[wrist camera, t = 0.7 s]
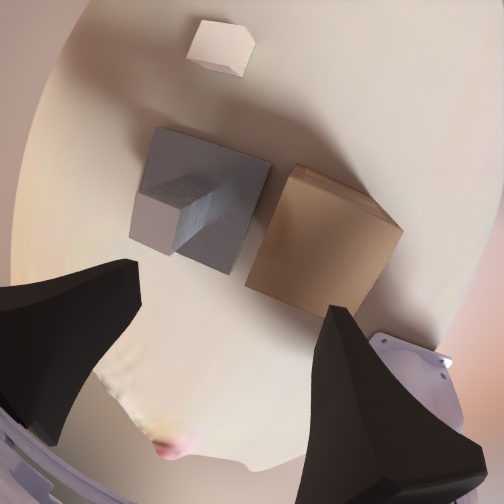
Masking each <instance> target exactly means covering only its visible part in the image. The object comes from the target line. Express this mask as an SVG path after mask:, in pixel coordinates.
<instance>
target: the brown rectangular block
mask: <svg viewBox="0 0 504 504" xmlns="http://www.w3.org/2000/svg"><path fill="white" fill-rule="evenodd" d="M403 232H404V231H403V230H402V229H401V228H400V227H399V226H398V224H397V223H396V222H395V221H394V220H393V219H392V218H391V217H390V216H389V215H388V214H387V213H386V211H385V210H384V209H383V208H382V207H381V206H380V205H379V204H378V203H377V202H376V201H375V200H374V199H373V198H371V197H369V196H367V195H365V194H363V193H361V192H359V191H357V190H355V189H353V188H351V187H349V186H347V185H344V184H342V183H340V182H338V181H336V180H334V179H331V178H329V177H327V176H325V175H322V174H320V173H318V172H315V171H313V170H311V169H308V168H306V167H304V166H301V165H299V164H296V166H295V168H294V169H293V171H292V172H291V174H290V176H289V177H288V180H287V182H286V185H285V187H284V189H283V192H282V194H281V197H280V199H279V202H278V204H277V207H276V209H275V212H274V214H273V217H272V219H271V222H270V224H269V227H268V229H267V232H266V234H265V237H264V239H263V242H262V244H261V247H260V249H259V251H258V254H257V256H256V259H255V261H254V264H253V266H252V269H251V271H250V274H249V276H248V279H247V281H246V283H245V286H246V287H249V288H251V289H253V290H256V291H258V292H261V293H263V294H265V295H268V296H270V297H273V298H275V299H278V300H280V301H282V302H285V303H287V304H290V305H292V306H295V307H297V308H300V309H302V310H305V311H307V312H310V313H312V314H315V315H317V316H320V317H322V318H325V317H326V314H327V310H328V307H329V304H330V305H335V306H340V307H346V308H347V309H348V311H349V312H350V314H351V315H352V317H353V316H354V315H355V313H356V312H357V310H358V309H359V307H360V305H361V304H362V302H363V301H364V299H365V298H366V296H367V295H368V293H369V291H370V290H371V288H372V287H373V285H374V283H375V282H376V280H377V278H378V277H379V275H380V273H381V272H382V270H383V268H384V267H385V265H386V263H387V261H388V260H389V258H390V256H391V254H392V252H393V251H394V249H395V247H396V245H397V243H398V242H399V240H400V238H401V236H402V234H403Z"/></svg>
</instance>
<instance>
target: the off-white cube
mask: <svg viewBox="0 0 504 504" xmlns="http://www.w3.org/2000/svg"><path fill="white" fill-rule="evenodd" d="M255 44H256V42H255V41H254V39H253V38H252V36H251V35H250V33H249V32H248V30H247V29H246V27H245V26H239V25H234V24H228V23H222V22H215V21H207V20H202V21H201V23H200V25H199V28H198V30H197V32H196V35H195V37H194V39H193V42H192V44H191V46H190V49H189V51H188V54H187V56H186V58H187V59H189V60H191V61H192V62H194V63H196V64H198V65H200V66H201V67H203V68H205V69H209V70H214V71H218V72H222V73H227V74H231V75H235V76H239V77H242V76H243V74H244V71H245V69H246V66H247V64H248V61H249V59H250V56H251V54H252V51H253V49H254V47H255Z"/></svg>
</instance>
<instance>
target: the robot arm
mask: <svg viewBox="0 0 504 504" xmlns="http://www.w3.org/2000/svg"><path fill="white" fill-rule="evenodd" d="M141 306H142V302H141V293H140V281H139V269H138V262H137V261H133V260H130V259H120V260H115V261H111V262H108V263H104V264H101V265H98V266H95V267H91V268H88V269H85V270H82V271H79V272H75V273H72V274H68V275H65V276H61V277H58V278H54V279H50V280H46V281H42V282H37V283H32V284H25V285H17V286H9V287H0V504H63V503H62V502H60V501H59V500H57V499H56V498H54V497H53V496H52V495H50V494H49V493H50V491H51V490H52V488H53V487H54V486H53V484H52V483H51V482H50V481H48V480H47V479H46V478H45V477H43V476H42V475H41V474H40V473H39V472H37V471H36V470H35V469H34V468H33V467H31V466H30V465H29V464H28V463H27V462H26V461H24V460H23V459H22V458H21V457H20V456H19V455H18V454H17V453H16V451H15V444H16V445H17V446H18V447H19V448H21V450H22V451H23V452H25V453H26V454H27V455H28V456H29V457H30V458H31V459H32V460H34V461H35V462H36V463H37V464H38V465H40V466H41V467H42V468H43V469H44V470H46V471H47V472H48V473H50V474H51V475H52V476H53V477H55V478H56V479H58V480H59V481H60V482H62V483H63V484H64V485H66V486H67V487H69V488H70V489H72V490H73V491H74V492H76V493H78V494H79V495H81V496H82V497H84V498H85V499H87V500H88V501H90V502H92V503H93V504H137V503H135V502H133V501H131V500H128V499H126V498H124V497H122V496H120V495H118V494H117V493H115V492H113V491H111V490H109V489H107V488H105V487H104V486H102V485H100V484H98V483H97V482H95V481H93V480H92V479H90V478H88V477H87V476H85V475H84V474H82V473H80V472H79V471H77V470H76V469H74V468H73V467H71V466H70V465H68V464H67V463H66V462H64V461H63V460H61V459H60V458H59V457H57V456H56V455H55V454H53V453H52V452H51V451H49V450H48V449H47V448H45V447H44V446H43V445H41V444H40V443H39V442H38V441H37V440H35V439H34V438H33V437H32V436H31V435H30V434H29V433H27V432H26V431H25V430H24V429H23V428H22V427H21V426H20V425H19V423H20V424H21V425H22V426H23V427H24V428H25V429H28V430H29V431H31V432H32V433H33V434H34V435H35V436H36V437H38V438H39V439H40V440H42V441H43V442H44V443H45V444H46V445H48V446H50V447H52V446H56V445H57V443H58V440H59V437H60V434H61V431H62V429H63V426H64V423H65V420H66V418H67V416H68V414H69V412H70V409H71V407H72V405H73V403H74V401H75V399H76V397H77V395H78V393H79V392H80V390H81V388H82V386H83V384H84V383H85V381H86V379H87V378H88V376H89V375H90V373H91V371H92V370H93V368H94V367H95V366H96V364H97V363H98V362H99V360H100V359H101V358H102V357H103V355H104V354H105V353H106V352H107V351H108V350H109V348H110V347H111V346H112V345H113V344H114V342H115V341H116V340H117V339H118V338H119V337H120V335H121V334H122V333H123V332H124V331H125V329H126V328H127V327H128V326H129V325H130V323H131V322H132V320H133V319H134V317H135V316H136V314H137V312H138V311H139V309H140V307H141ZM383 339H386V340H385V341H382V340H383ZM451 364H452V359H451V358H450V357H448V356H445V355H442V354H439V353H436V352H433V351H431V350H428V349H425V348H422V347H420V346H417V345H414V344H411V343H409V342H406V341H403V340H401V339H398V338H395V337H392V336H390V335H387V334H384V333H381V332H378V333H376V334H374V335H373V337H372V338H371V339H370V341H369V342H368V340H367V339H366V337H365V336H364V334H363V333H362V331H361V330H360V328H359V326H358V325H357V323H356V322H355V320H354V319H353V317H352V315H351V314H350V312H349V311H348V309H347V308H346V307H340V306H335V305H330V304H329V307H328V310H327V314H326V317H325V320H324V323H323V326H322V329H321V332H320V334H319V337H318V340H317V343H316V346H315V349H314V357H313V365H312V374H311V421H310V434H309V441H308V447H307V453H306V458H305V463H304V468H303V473H302V477H301V482H300V486H299V490H298V494H297V498H296V502H295V504H477V490H476V487H477V486H479V485H480V484H481V483H482V482H483V481H484V480H485V478H486V476H487V475H488V472H487V467H486V463H485V459H484V454H483V450H482V447H481V446H480V445H478V444H476V443H475V442H473V441H471V440H470V439H468V438H466V437H465V436H463V435H462V434H461V433H462V429H463V412H462V409H461V406H460V403H459V400H458V397H457V394H456V392H455V389H454V387H453V383H452V381H451V378H450V376H449V373H448V370H447V368H448V367H449V366H450V365H451ZM14 443H15V444H14Z"/></svg>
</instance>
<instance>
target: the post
mask: <svg viewBox="0 0 504 504" xmlns="http://www.w3.org/2000/svg"><path fill="white" fill-rule="evenodd" d="M271 166H272V164H271V163H268V162H266V161H263V160H260V159H258V158H255V157H252V156H249V155H247V154H244V153H241V152H238V151H236V150H233V149H230V148H227V147H224V146H221V145H218V144H215V143H212V142H209V141H206V140H203V139H200V138H196V137H193V136H190V135H187V134H183V133H180V132H176V131H173V130H170V129H166V128H162V127H156V130H155V133H154V137H153V140H152V144H151V148H150V152H149V156H148V160H147V164H146V169H145V173H144V177H143V182H142V187H141V191H138V192H136V197H135V203H134V208H133V214H132V220H131V226H130V233H129V238H131V239H133V240H135V241H137V242H140V243H142V244H144V245H146V246H148V247H150V248H152V249H155V250H157V251H159V252H161V253H163V254H165V255H168V256H170V255H172V254H173V253H174V252H177V253H179V254H181V255H184V256H186V257H188V258H190V259H193V260H195V261H197V262H199V263H202V264H204V265H206V266H209V267H211V268H213V269H215V270H218V271H220V272H222V273H225V274H227V275H230V273H231V272H232V270H233V267H234V264H235V262H236V259H237V256H238V254H239V251H240V248H241V245H242V243H243V240H244V237H245V235H246V232H247V229H248V227H249V224H250V221H251V219H252V216H253V213H254V211H255V208H256V205H257V203H258V200H259V197H260V195H261V192H262V189H263V187H264V184H265V182H266V179H267V176H268V174H269V171H270V168H271Z"/></svg>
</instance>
